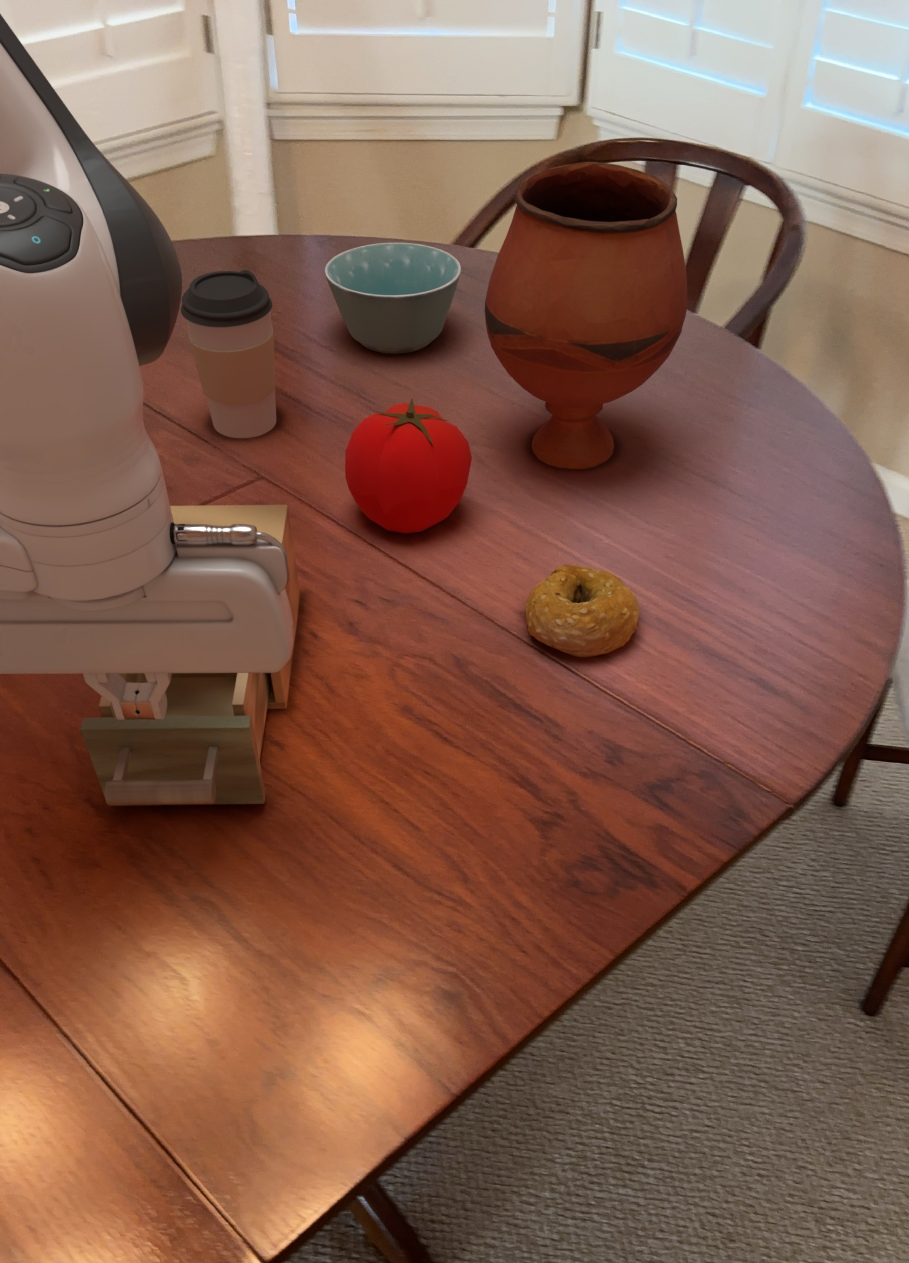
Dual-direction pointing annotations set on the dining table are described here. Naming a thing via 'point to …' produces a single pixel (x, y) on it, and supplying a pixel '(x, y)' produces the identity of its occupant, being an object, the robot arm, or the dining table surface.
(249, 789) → the tray drawer
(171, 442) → the dining table surface
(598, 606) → the bagel
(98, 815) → the dining table surface
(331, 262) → the bowl
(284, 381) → the dining table surface
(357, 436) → the tomato
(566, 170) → the goblet
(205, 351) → the coffee cup
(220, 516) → the cabinet
